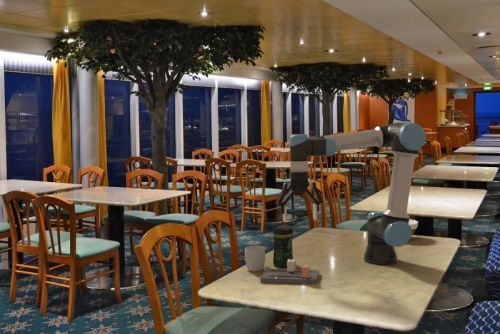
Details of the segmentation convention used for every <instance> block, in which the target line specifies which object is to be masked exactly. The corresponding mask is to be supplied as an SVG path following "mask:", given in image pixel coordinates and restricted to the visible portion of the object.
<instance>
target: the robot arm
mask: <svg viewBox="0 0 500 334" xmlns="http://www.w3.org/2000/svg"><path fill="white" fill-rule="evenodd" d="M426 140H427V135H426V132H425V129H424V128H423V127H422V126H421V125H420V124H419V123H416V122H415V123H414V122H409V121H408V122H394V123H389V124H386V125H380V126H376V127H375V128H374V129H368V130H367V129H366V130H359V131H351V132H345V133H344V132H343V133H336V134H330V135H329V134H328V135H327V134H326V135H323V136H322V135H321V136H308V134H305V133H304V134H302V133H301V134H297V133H296V134H295V133H294V134H292V135H290V136H289V156H290V157H289V158H290V159H289V162H290V167H289V168H290V182H289V183H286V182H283V183H282V189H281V190H280V191H281V192H280V194H279V196H278V198H277V200H276V203H275V204H276V205H277V206H280V215H282V221H283V222H284V223H287V221H288V220H287V219H288V218H287V206H286V205H287V203H288V202H289V201H290V199H291V198H292V197H293V195H294V194H295V193H296V194H300V193H301V194H306V195H307V196H308V197H309V198H310V199H311V200H312V202H313V204H312V218H313V220H314V221H317V220H318V212H320V204H323V202H324V200H323V197H322V195H321V193H320V192H319V189H318V188H317V183H316V181H313V180H312V181H309V171H308V170H309V157H330V156H331V157H332V156H335V154H336V152H340V151H346V150H347V151H348V150H354V149H362V148H369V147H377V148H391V153H392V154H393V164H392V171H391V178H390V186H389V191H388V198H387V206H386V209H385V210H384V211H372V212H368V214H367V245H366V248H365V252H364V255H363V261H365V262H366V263H369V264H374V265H392V264H395V263H397V262H398V255H397V252H396V247H397V248H398V247H399V248H400V247H403V246H405V245H406V244H407V243H409V241H410V240H411V238H412V236H413V235H412V230H411V227H410V225H409V219H410V215H409V214H408V213H407V212H408V205H409V198H410V192H411V186H412V178H413V172H414V164H415V159H416V158H417V157H419V155H420V150H421V149H422V148H423V147H424V145H425V144H426ZM309 187H311V188H312V191H313V193H314V194H313V193H312V192H311V191H310V189H309ZM289 188H290V190H289V192H288V193H286V192H287V191H288V189H289ZM285 195H286V196H285ZM314 195H315V196H316V197H315V196H314ZM411 235H412V236H411Z"/></svg>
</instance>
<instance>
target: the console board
mask: <svg viewBox="0 0 500 334" xmlns="http://www.w3.org/2000/svg"><path fill="white" fill-rule="evenodd" d="M319 271H320V270H319V269H310V276H309V278H304V277H302V269H295V271H294V272H289V271H287V268H265V270H264V271H263V273H262V274H261V276H260V279H259V280H260V284H262V283H263V284H283V285H285V284H286V285H287V284H289V285H312V284H316V285H317V284H318V280H319V275H320V273H319Z"/></svg>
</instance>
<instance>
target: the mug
mask: <svg viewBox="0 0 500 334" xmlns="http://www.w3.org/2000/svg"><path fill="white" fill-rule="evenodd" d="M244 260H245V265H246V269H247V271H249V272H255V273H256V272H262V271H263V270H264V267H265V263H266V248H265V246H262V245H248V246H246V247H245V248H244Z"/></svg>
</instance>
